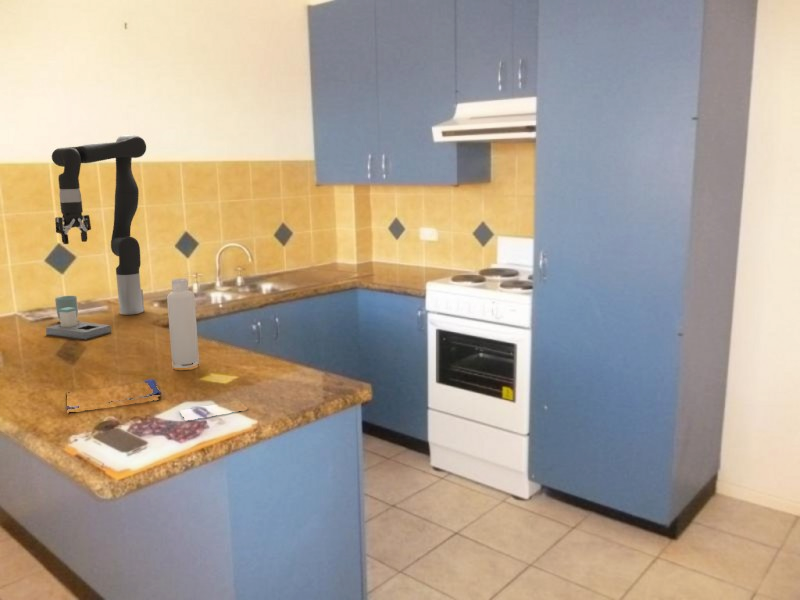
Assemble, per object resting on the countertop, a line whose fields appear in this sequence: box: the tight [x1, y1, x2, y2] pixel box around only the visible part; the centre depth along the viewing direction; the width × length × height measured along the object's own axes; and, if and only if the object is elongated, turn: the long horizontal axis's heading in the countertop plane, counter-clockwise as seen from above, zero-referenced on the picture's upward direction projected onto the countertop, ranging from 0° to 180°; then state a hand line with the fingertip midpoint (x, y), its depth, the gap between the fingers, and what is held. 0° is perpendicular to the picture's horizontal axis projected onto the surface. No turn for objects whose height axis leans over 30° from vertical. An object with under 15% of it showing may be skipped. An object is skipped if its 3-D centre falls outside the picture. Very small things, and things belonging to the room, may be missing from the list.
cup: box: [54, 295, 79, 321], centre depth 275 cm, size 8×8×10 cm
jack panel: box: [45, 320, 112, 341], centre depth 254 cm, size 12×20×3 cm, turn 66°
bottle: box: [166, 277, 200, 368], centre depth 209 cm, size 8×8×28 cm
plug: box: [59, 307, 78, 327], centre depth 256 cm, size 4×4×9 cm
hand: (75, 242), depth 262 cm, fingers open, 8 cm apart
